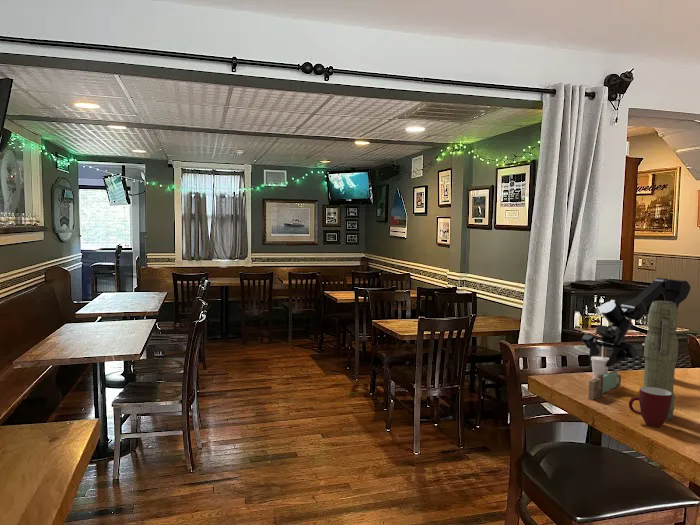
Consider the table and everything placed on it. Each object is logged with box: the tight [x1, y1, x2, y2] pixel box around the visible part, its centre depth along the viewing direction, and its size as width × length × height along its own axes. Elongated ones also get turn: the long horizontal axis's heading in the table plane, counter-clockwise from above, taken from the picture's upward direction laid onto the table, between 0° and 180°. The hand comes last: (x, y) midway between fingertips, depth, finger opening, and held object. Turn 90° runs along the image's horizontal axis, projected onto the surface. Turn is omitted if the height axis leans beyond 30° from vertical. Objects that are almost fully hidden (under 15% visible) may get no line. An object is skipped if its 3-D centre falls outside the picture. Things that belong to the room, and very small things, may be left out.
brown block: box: [588, 373, 622, 401], centre depth 176 cm, size 24×2×7 cm, turn 133°
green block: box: [602, 369, 619, 395], centre depth 178 cm, size 13×2×6 cm, turn 133°
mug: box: [628, 386, 672, 428], centre depth 147 cm, size 11×8×10 cm
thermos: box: [642, 299, 679, 420], centre depth 154 cm, size 9×12×35 cm
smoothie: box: [591, 346, 610, 380], centre depth 182 cm, size 6×6×14 cm
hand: (598, 364), depth 182 cm, fingers closed on smoothie, 6 cm apart
